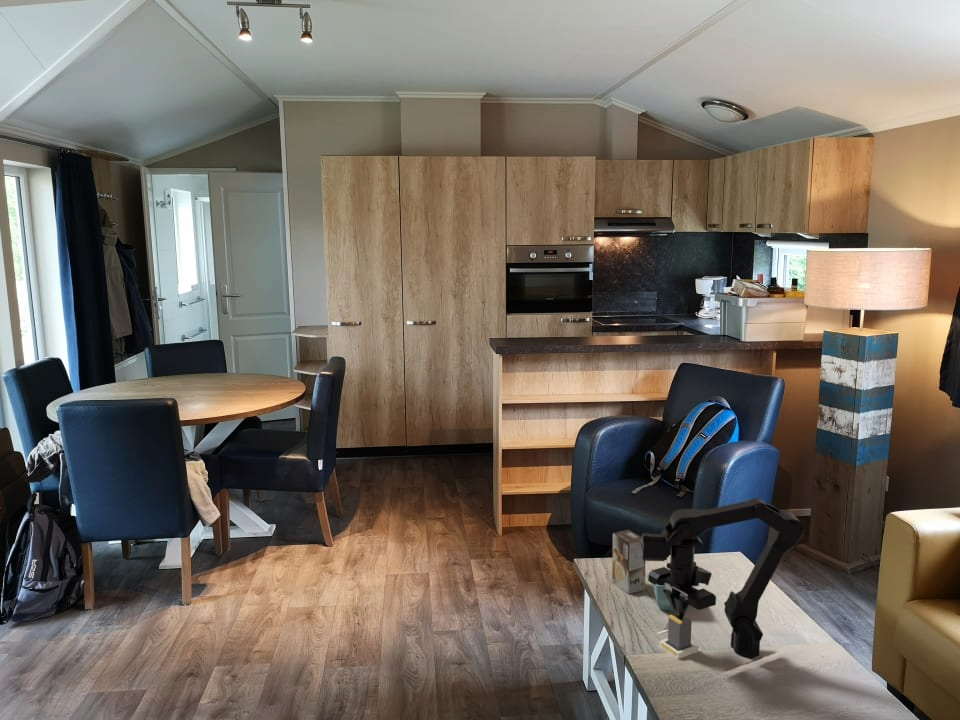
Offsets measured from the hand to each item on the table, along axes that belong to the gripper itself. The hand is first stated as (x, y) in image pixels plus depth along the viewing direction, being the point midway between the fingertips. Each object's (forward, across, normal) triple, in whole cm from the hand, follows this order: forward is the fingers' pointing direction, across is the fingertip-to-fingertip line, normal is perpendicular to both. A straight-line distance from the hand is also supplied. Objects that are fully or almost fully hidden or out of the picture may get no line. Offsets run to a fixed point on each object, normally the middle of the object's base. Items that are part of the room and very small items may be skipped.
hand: (679, 619), depth 194 cm
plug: (+8, 0, 0) cm, 8 cm away
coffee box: (+10, +36, -13) cm, 39 cm away
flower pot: (+10, +19, -14) cm, 25 cm away
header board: (+9, +3, -1) cm, 10 cm away
